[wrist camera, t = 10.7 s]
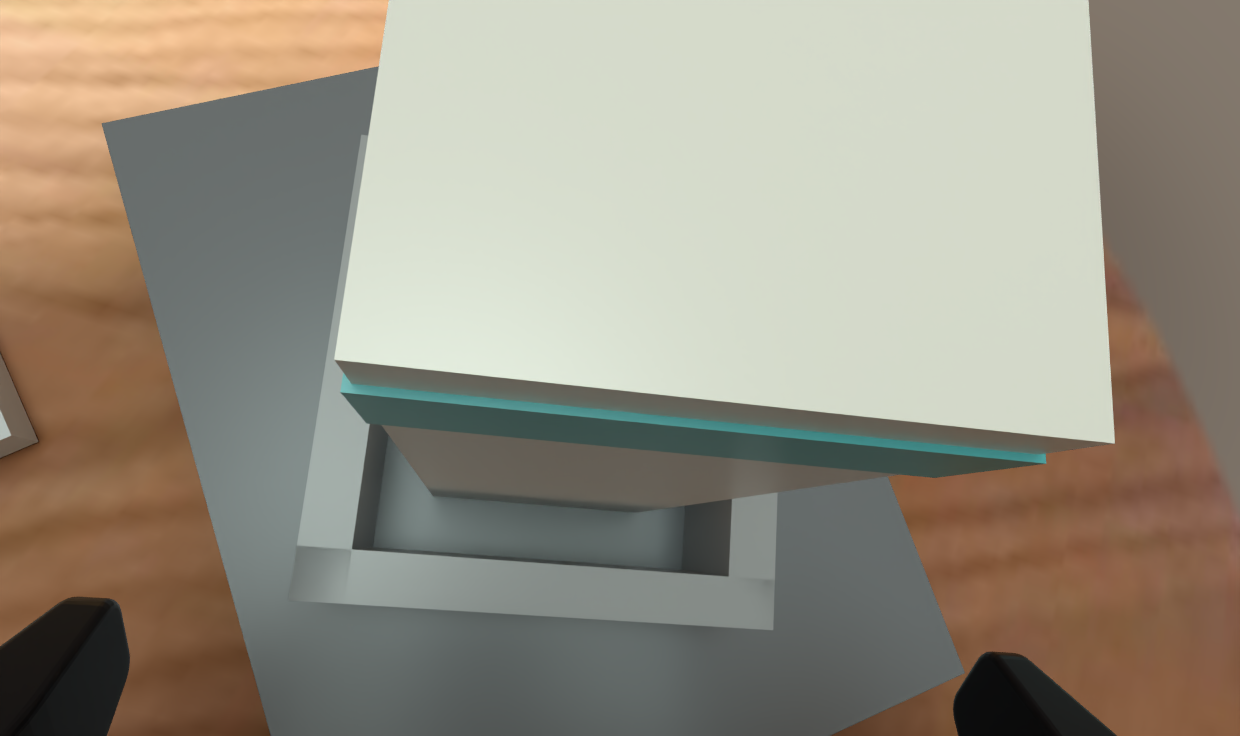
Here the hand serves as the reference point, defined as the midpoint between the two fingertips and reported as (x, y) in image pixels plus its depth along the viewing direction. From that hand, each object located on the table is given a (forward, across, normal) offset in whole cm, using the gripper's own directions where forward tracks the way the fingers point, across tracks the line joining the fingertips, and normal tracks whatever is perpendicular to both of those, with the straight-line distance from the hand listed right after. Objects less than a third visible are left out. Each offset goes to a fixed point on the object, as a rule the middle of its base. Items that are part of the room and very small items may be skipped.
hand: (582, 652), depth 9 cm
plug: (+8, 0, +2) cm, 8 cm away
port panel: (+9, 0, +4) cm, 10 cm away
